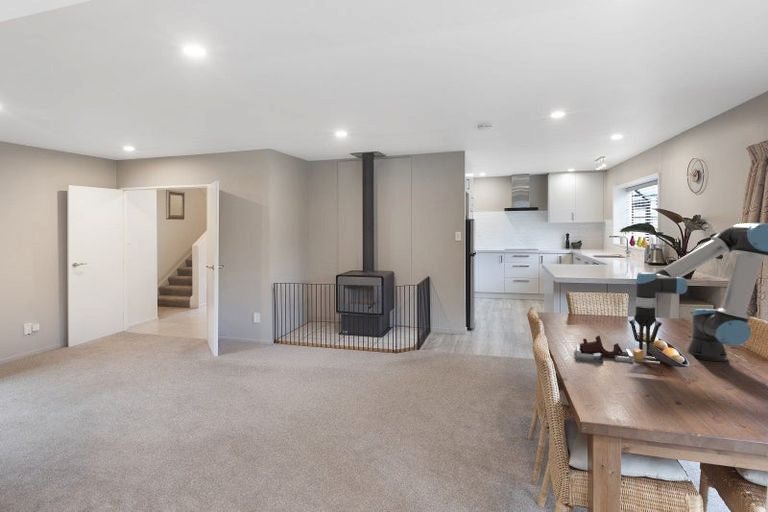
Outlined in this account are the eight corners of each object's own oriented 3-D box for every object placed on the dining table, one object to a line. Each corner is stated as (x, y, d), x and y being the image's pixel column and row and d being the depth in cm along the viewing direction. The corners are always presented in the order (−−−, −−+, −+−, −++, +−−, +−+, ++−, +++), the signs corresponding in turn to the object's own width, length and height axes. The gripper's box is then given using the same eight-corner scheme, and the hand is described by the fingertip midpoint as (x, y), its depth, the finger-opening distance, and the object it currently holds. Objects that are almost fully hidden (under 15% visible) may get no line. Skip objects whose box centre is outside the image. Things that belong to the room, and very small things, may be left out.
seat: (654, 359, 192) (654, 350, 192) (661, 368, 181) (661, 359, 180) (574, 352, 205) (574, 343, 205) (576, 360, 193) (576, 351, 193)
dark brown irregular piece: (624, 354, 189) (618, 332, 192) (585, 359, 193) (579, 338, 196) (621, 355, 194) (614, 334, 198) (583, 360, 198) (577, 339, 202)
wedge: (640, 357, 191) (640, 349, 191) (642, 361, 186) (643, 352, 186) (633, 357, 192) (633, 348, 192) (635, 360, 188) (635, 351, 187)
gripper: (660, 305, 188) (658, 355, 189) (627, 303, 193) (626, 352, 194) (664, 308, 181) (662, 360, 182) (630, 306, 186) (628, 357, 187)
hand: (643, 356), depth 188 cm, fingers closed
